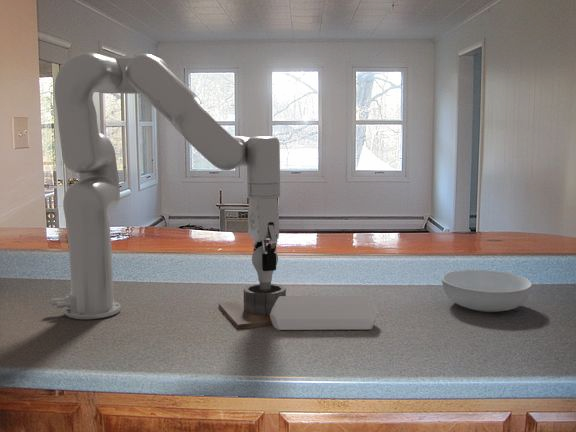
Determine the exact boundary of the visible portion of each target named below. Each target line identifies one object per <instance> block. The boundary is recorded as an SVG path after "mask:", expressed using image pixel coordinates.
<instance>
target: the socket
mask: <svg viewBox="0 0 576 432" xmlns="http://www.w3.org/2000/svg"><path fill="white" fill-rule="evenodd" d="M279 296H287V288H286V287H285V286H284V285H281V284H278V283H277V284H276V283H271V289H270V290H268V291H267V292H263V291H262V290H260V283H254V284H253V283H252V284H251V285H247V286H245V287H244V288H243V300H238V301H225V302H224V301H223V302H218V308H219V309H220V310H221V312H222V313H223V314H224V315H225V317H227V318H228V320H229V321H230V322H231V323H232V324H233V325H234V327H235V328H236V329H237V330H241V329H250V328H261V327H268V326H273V324H272V321H271V318H270V313H271V310H272V308H273V306H274V304H275V302H276V300H277V299H278V298H279Z"/></svg>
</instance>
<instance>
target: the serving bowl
mask: <svg viewBox="0 0 576 432" xmlns="http://www.w3.org/2000/svg"><path fill="white" fill-rule="evenodd" d="M441 282H442V289H443V291H444V293H445V295H446V296H447V297H448V299H450V300H451V301H452V302H453V303H454V304H456V305H458V306H461V307H464V308H467V309H470V310H471V311H476V312H484V313H495V312H496V313H497V312H504V311H511V310H514V309H516V308H518V307H520V306H522V305H523V304H524V303H525V302H526V301H527V300H528V298H529V297H530V295H531V292H532V288H533V284H532V281H530V279H528V278H526V277H523V276H521V275H518V274H515V273H509V272H504V271H498V270H497V271H496V270H491V269H490V270H489V269H488V270H487V269H462V270H453V271H449V272H446V273H445V274H443V275H442V277H441Z"/></svg>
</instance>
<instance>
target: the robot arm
mask: <svg viewBox="0 0 576 432" xmlns="http://www.w3.org/2000/svg"><path fill="white" fill-rule="evenodd" d="M54 80H55V81H54V86H53V87H54V90H53V91H54V101H55V107H56V115H57V121H58V122H57V123H58V125H57V126H58V132H59V133H58V134H59V139H60V141H59V142H60V148H61V156H62V160H63V163H64V165H65V167H66V168H67V169H68V170H69V171H71V172H73V173H76V174H78V176H79V180H77V181H75V182H74V183H73V184H71V185H70V186H69V187H68V188H67V190H66V192H65V194H64V197H63V202H62V204H63V214H64V218H65V223H66V230H67V238H68V241H67V242H68V256H69V273H70V292H69V295H66V296H65V297H61V298H60V297H55V298H51V303H50V304H51V307H52V308H53V307H56V308H57V309H60V308H62V309H63V308H65V310H64V312H65V316H66V317H68V318H71V319H75V320H96V319H103V318H108V317H111V316H115V315H116V314H118V313H119V312H121V308H122V307H121V303H119V302H117V301H114V297H115V296H114V279H113V276H114V275H113V258H112V254H113V252H112V240H111V239H112V237H111V229H110V228H111V227H110V223H109V219H108V214H109V213H111V212H112V211H113V210H114V209H116V208H117V206H118V204H119V202H120V199H121V198H120V196H121V190H120V183H119V182H120V181H119V179H120V178H119V172H118V163H117V157H116V156H117V155H116V152H115V148H114V145H113V143H112V141H111V140H110V139H109V137H107V136H106V135H105V134H103V133H101V132H99V125H98V116H97V115H98V114H97V111H96V106H95V103H94V100H93V99H94V97H93V96H94V94H95V93H101V94H127V95H128V94H132V95H133V94H140V96H142V97H143V98H144V100H146V101H147V103H149V104H150V105H152V107H154V109H155V110H157V111H158V112H159V113H160V114H161V115H162V116H163V117H164V118H165V119H166V120H167V121H168V122H169V123H170V124H171V125H172V126H173V127H174V128H175V129H176V131H177V132H179V134H181V136H183V138H184V139H185V140H186V141H187V142H188V143H189V144H190V146H192V147H193V148H194V149H195V150H196V151H198V152H197V153H199V154H200V155H201V156H203V157H204V158H205V159H206V160H207V161H208V163H210V164H211V165H212V166H214V167H215V168H217V169H219V170H221V171H232V170H235V169H237V168H241V167H246V177H247V178H246V179H247V181H246V182H247V187H246V190H247V194H246V195H247V198H248V209H247V210H248V211H247V214H248V215H247V235H248V236H249V237H250V238H251V239H253V242H252V243H253V244H252V246H253V252H254V251H255V250H256V249H257V248H259V247H261V246H263V252H264V254H262V270H263V271H273V272H274V271H276V270H277V265H276V253H277V244H278V239H279V237H280V219H279V203H278V198H281V151H280V150H281V149H280V148H281V147H280V140H279V138H277V137H276V136H272V135H271V136H269V135H268V136H267V135H264V136H263V135H262V136H261V135H260V136H251V137H249V136H240V135H239V136H238V135H231V134H230V133H229V132H228V131H227V130H225V129H224V127H222V126H221V124H220V123H218V122H217V120H216V119H215V118H213V117H212V115H210V113H209V112H208V111H207V110H206V108H205V107H204V105H203V103H202V101H201V100H200V98H199V96H198V95H197V94H196V93H195V92H194V91H193V90H192V89H191V88H189V87H188V86H187V85H186V84H185V83H184V82H183V81H181V79H180V78H178V77H177V76H176V75H175V73H173V72H172V71H171V69H170V67H169V66H168V64H167V63H166V62H165V60H163V59H162V58H161V57H158V56H155V55H153V54H149V53H139V54H137V55H135V56H133V57H112V56H111V57H109V56H105V55H103V54H99V53H96V52H82V53H79V54H76V55H73V56H72V57H71V58H69V59H68V60H67V61H65V63H63V64H62V66H61V67H60V68H59V70H58V72H57V74H56V77H55V79H54Z"/></svg>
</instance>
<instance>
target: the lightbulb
mask: <svg viewBox="0 0 576 432" xmlns="http://www.w3.org/2000/svg"><path fill="white" fill-rule="evenodd" d="M262 254H264V252H263V246H261V247H259V248H257V249H256V250H255V251H254V250H253V253H252V255H251V262H252V266H253V268H254V269H255V271H256V274H257V279H258V282H259V283H258V284H260V290H262V291H263V292H267V291H268V290H270V289H271V284H272V280H273V274H274V271H263V270H262ZM278 256H279V255H278V253H277V252H276V266H277V265H278V263H279V257H278Z"/></svg>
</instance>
